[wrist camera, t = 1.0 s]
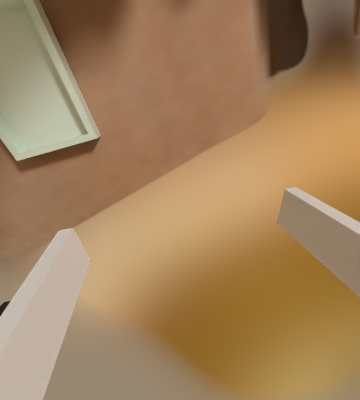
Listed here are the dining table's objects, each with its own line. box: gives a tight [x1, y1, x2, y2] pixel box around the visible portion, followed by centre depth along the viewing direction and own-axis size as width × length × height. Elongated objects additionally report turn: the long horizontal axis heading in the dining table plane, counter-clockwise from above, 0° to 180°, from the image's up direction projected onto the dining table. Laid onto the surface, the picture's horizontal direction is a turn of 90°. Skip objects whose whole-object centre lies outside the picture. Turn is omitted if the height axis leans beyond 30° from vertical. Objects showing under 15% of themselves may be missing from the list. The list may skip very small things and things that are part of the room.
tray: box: [0, 0, 101, 161], centre depth 24 cm, size 17×13×3 cm
